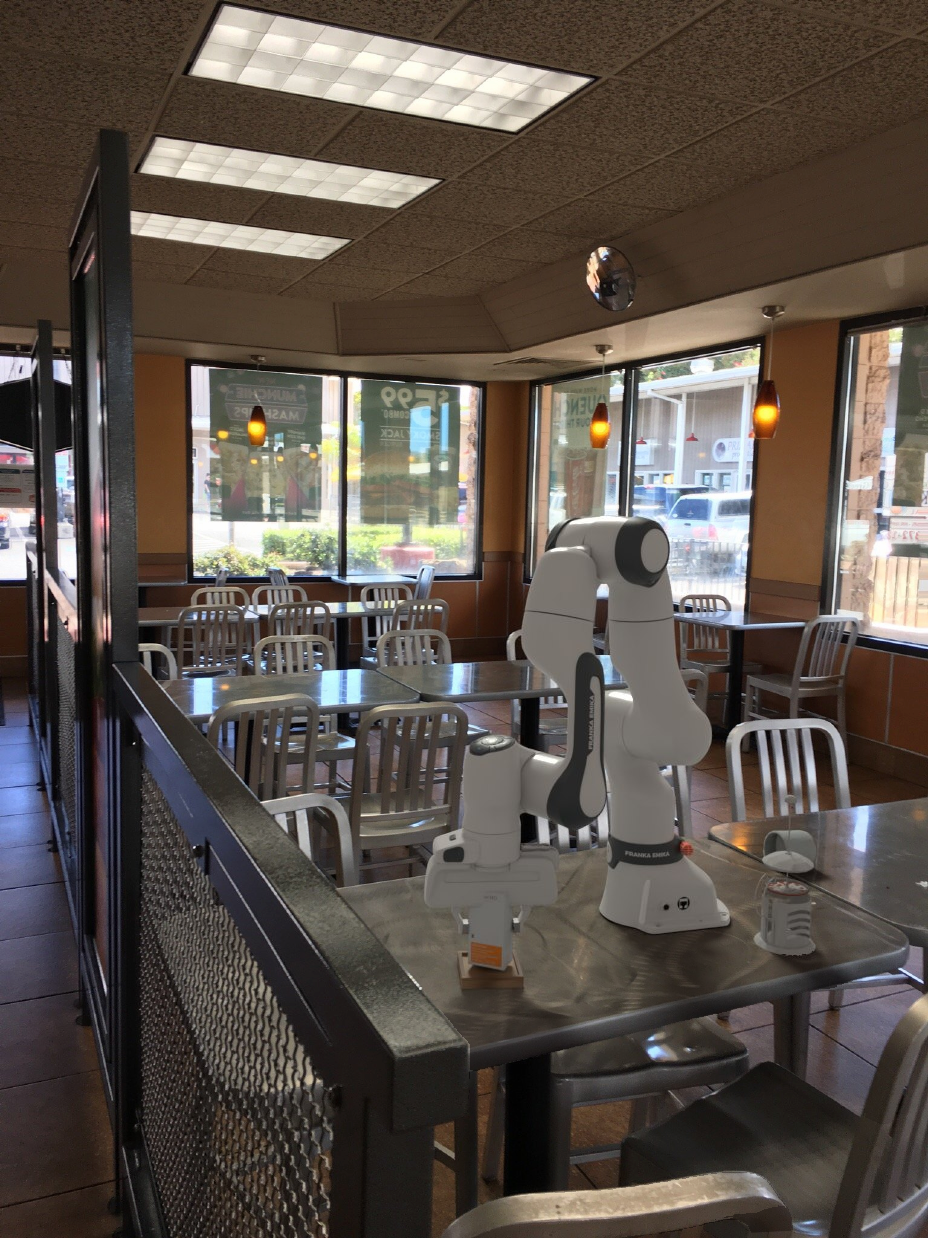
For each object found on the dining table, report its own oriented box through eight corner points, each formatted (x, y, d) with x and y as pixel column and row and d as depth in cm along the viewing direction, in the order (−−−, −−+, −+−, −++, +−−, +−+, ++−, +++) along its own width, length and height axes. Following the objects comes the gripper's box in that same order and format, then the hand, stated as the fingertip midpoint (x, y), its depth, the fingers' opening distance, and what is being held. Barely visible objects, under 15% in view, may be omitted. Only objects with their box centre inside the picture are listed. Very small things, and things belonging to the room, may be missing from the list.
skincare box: (467, 965, 151) (467, 889, 150) (476, 953, 155) (477, 879, 154) (504, 972, 149) (505, 895, 148) (513, 960, 153) (514, 885, 152)
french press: (828, 947, 163) (836, 798, 160) (780, 963, 157) (787, 809, 154) (780, 926, 171) (786, 783, 168) (733, 941, 165) (738, 793, 162)
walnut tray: (515, 960, 157) (515, 949, 157) (523, 987, 148) (523, 976, 148) (457, 961, 156) (457, 951, 156) (461, 989, 147) (461, 978, 147)
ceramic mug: (819, 870, 198) (821, 833, 197) (786, 875, 195) (787, 837, 194) (784, 854, 208) (785, 818, 207) (752, 859, 205) (753, 822, 204)
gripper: (555, 836, 154) (554, 922, 156) (423, 838, 152) (423, 925, 154) (563, 850, 148) (561, 939, 149) (425, 852, 146) (425, 943, 148)
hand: (490, 932), depth 152 cm, fingers closed on skincare box, 7 cm apart
